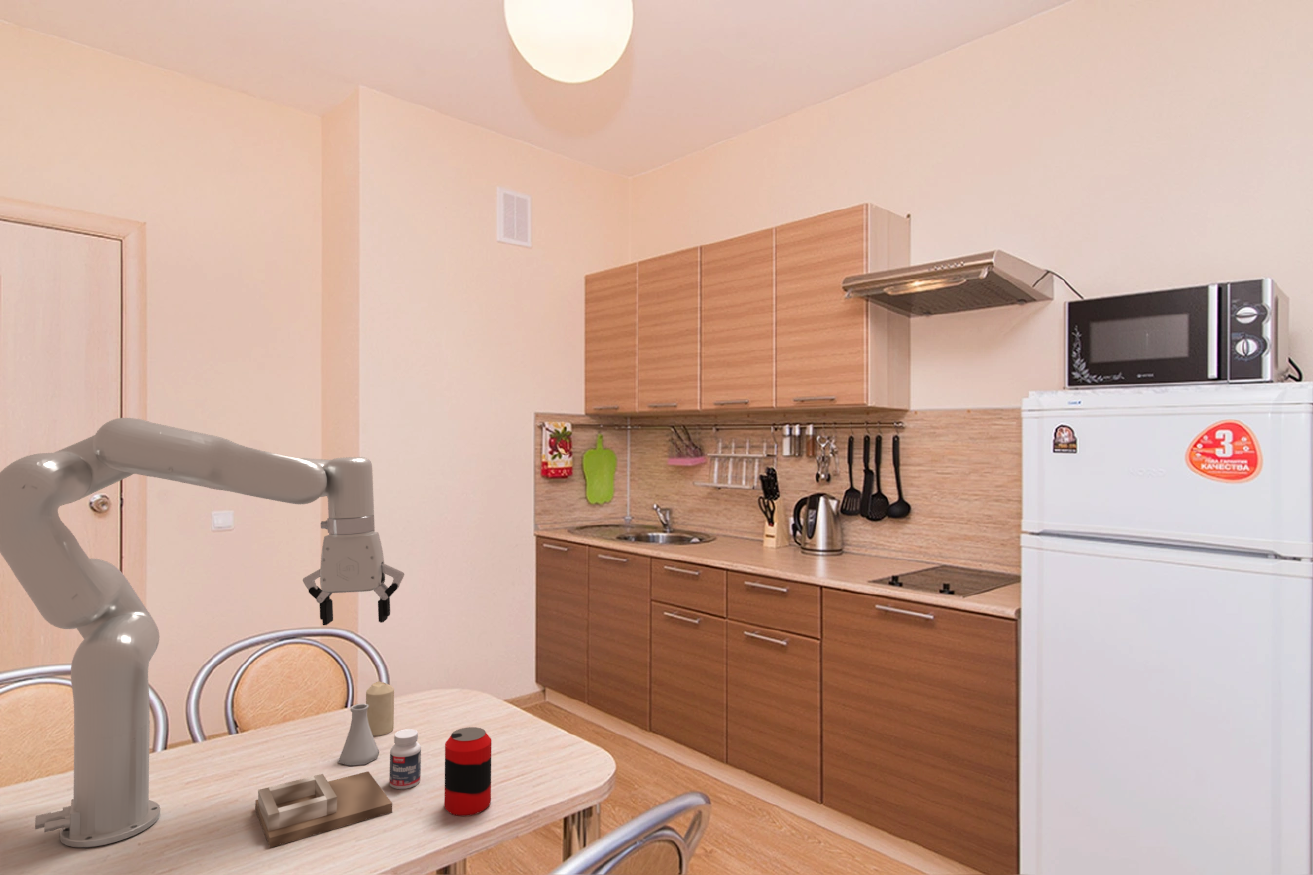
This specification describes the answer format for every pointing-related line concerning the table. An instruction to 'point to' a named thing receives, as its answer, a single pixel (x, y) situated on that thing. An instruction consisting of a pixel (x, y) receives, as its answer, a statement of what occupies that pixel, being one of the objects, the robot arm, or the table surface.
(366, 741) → the flask
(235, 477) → the robot arm
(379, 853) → the table surface
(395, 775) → the pill bottle
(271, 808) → the socket board
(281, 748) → the table surface
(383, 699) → the candle
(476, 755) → the soda can
